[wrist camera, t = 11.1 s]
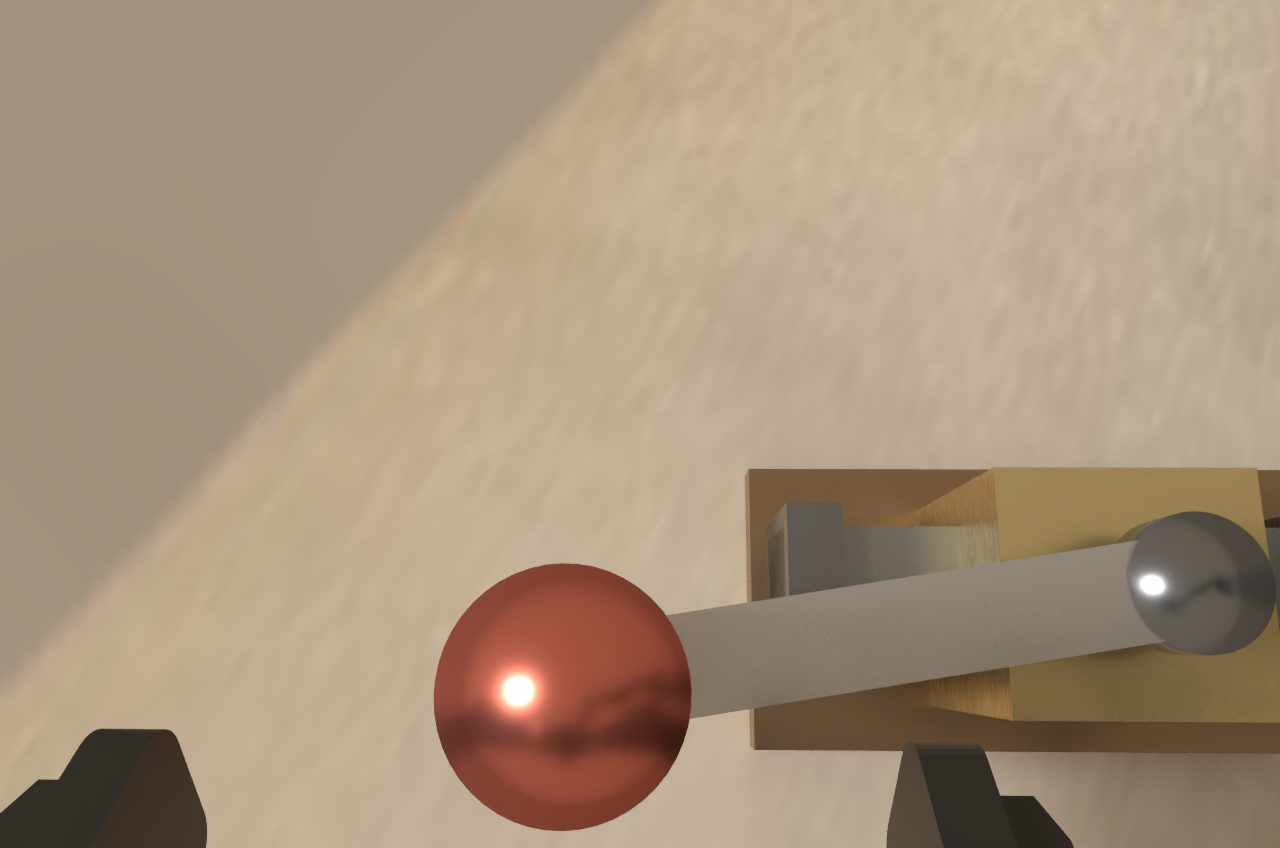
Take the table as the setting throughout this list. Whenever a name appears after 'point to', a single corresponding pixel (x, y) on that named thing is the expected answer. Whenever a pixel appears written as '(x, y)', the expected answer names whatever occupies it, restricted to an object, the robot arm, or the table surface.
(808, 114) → the table surface
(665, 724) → the lever
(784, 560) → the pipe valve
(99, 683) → the table surface
